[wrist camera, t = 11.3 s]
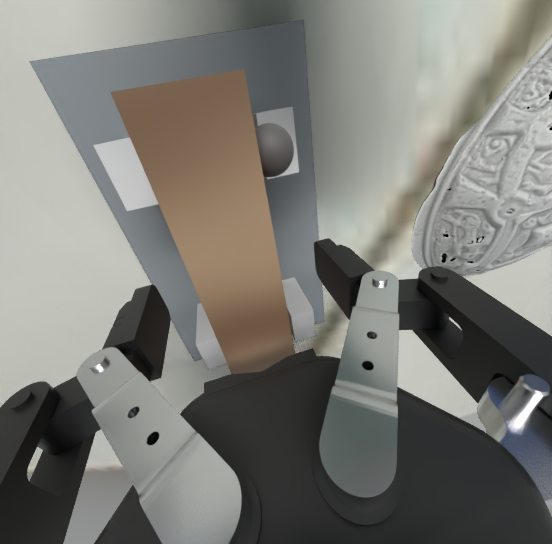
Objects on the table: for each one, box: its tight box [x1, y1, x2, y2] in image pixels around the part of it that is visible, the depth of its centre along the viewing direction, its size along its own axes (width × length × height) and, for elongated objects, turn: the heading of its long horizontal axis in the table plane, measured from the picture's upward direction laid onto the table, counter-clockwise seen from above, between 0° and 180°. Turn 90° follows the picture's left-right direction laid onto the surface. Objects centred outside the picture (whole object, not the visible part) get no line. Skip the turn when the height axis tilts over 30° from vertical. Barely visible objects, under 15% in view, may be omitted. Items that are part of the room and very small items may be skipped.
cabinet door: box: [110, 69, 295, 374], centre depth 13 cm, size 16×4×8 cm, turn 9°
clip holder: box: [29, 20, 324, 370], centre depth 15 cm, size 20×12×6 cm, turn 9°
